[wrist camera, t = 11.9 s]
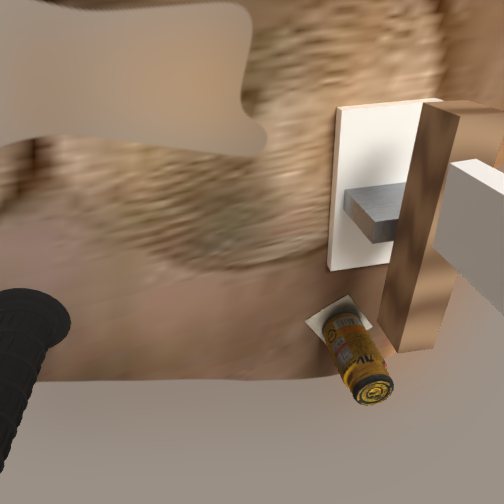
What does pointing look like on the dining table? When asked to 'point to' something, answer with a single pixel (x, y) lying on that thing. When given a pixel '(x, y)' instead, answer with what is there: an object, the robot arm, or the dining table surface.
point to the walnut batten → (431, 219)
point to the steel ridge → (375, 210)
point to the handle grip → (24, 352)
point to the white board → (368, 171)
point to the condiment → (353, 351)
